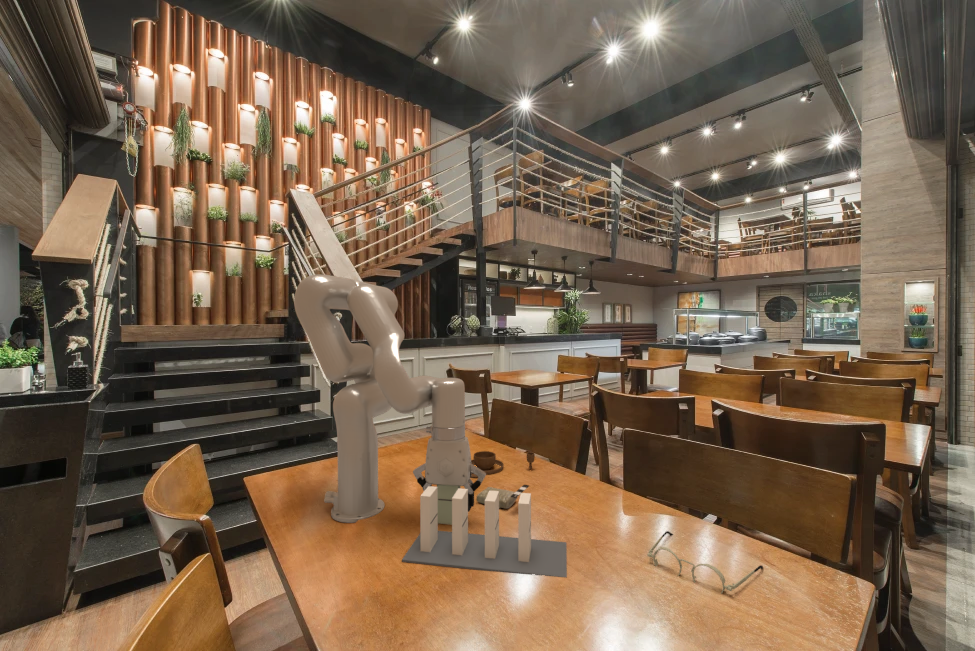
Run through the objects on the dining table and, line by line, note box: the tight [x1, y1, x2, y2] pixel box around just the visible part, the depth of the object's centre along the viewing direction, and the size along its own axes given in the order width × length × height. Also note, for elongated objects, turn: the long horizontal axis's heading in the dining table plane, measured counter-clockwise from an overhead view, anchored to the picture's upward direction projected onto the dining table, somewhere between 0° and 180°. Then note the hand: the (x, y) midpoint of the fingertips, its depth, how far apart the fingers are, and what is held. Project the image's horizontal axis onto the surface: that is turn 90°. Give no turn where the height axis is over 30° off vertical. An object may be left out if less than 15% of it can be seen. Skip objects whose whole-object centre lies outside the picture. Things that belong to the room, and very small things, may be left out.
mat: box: [401, 530, 568, 578], centre depth 83 cm, size 31×12×1 cm, turn 79°
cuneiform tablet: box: [476, 484, 530, 510], centre depth 105 cm, size 7×4×12 cm
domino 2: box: [451, 487, 469, 555], centre depth 84 cm, size 2×5×11 cm, turn 169°
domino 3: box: [484, 491, 500, 559], centre depth 83 cm, size 2×5×11 cm, turn 170°
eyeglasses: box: [646, 531, 764, 594], centre depth 78 cm, size 17×15×5 cm
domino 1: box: [419, 486, 439, 552], centre depth 85 cm, size 2×5×11 cm, turn 169°
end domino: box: [436, 485, 461, 526], centre depth 96 cm, size 2×5×11 cm, turn 79°
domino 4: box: [517, 492, 532, 562], centre depth 81 cm, size 2×5×11 cm, turn 169°
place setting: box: [471, 450, 535, 479], centre depth 129 cm, size 18×20×6 cm
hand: (449, 507), depth 96 cm, fingers open, 8 cm apart
